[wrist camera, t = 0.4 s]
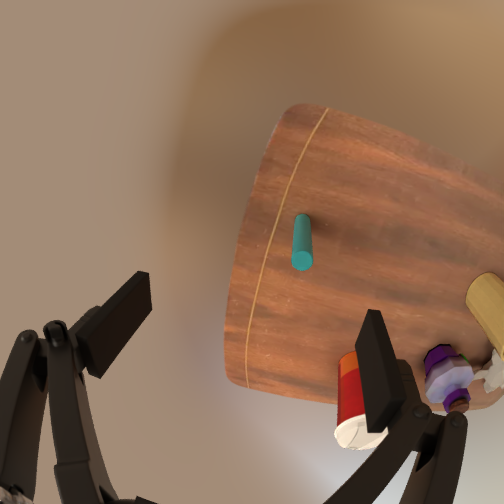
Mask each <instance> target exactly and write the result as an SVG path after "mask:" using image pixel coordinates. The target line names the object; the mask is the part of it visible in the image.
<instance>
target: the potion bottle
mask: <svg viewBox="0 0 504 504" xmlns="http://www.w3.org/2000/svg"><path fill="white" fill-rule="evenodd" d="M459 356H460V357H459ZM424 363H425V373H426V378H425V394H426V396H427V397H428V399H429V401H430V403H441V402H442V403H443V405H444V408H445V411H446V412H447V413H449V412H451V411H459V412H461V413H465V412H466V411H467V410H468V408H469V401H470V399H471V398H470V395H469V393H468V390H467V387H468V386H469V384H470V383H471V381H472V380H473V378H474V374H473V370H472V367H471V366H470V364H469V362H468V360H467V359H466V357H465V356H464V355H463V354H462V353H460V354H459V355H458V354H457V353H456V352H455V351H454V350H453V349H452V348H451V346H450V344H439V345H437V346H436V347H434V348H433V349H431V350H429V351H428V353H427V355H426V357H425V359H424Z"/></svg>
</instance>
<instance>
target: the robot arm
mask: <svg viewBox="0 0 504 504" xmlns="http://www.w3.org/2000/svg"><path fill="white" fill-rule="evenodd" d="M151 311H152V303H151V292H150V280H149V273H147V272H142V271H137V273H135V274H134V275H133V276H132V277H131V278H130V279H129V280H128V281H127V282H126V283H125V284H124V285H123V286H122V287H121V288H120V289H119V290H118V291H117V292H116V293H115V294H114V295H113V296H111V297H110V298H109V299H108V300H107V301H106V303H104V305H102V306H101V307H100V306H95V307H93V308H91V309H90V310H88V311H87V312H86V313H85V314H84V316H82V317H81V318H80V320H78V321H77V322H76V323H75V324H74V325H73V326H72V327H71V328H70V329H69V330H67V327H66V324H65V323H64V322H63V321H60V320H54V321H50V322H49V323H47V324H46V325H45V326H44V328H43V332H44V335H45V338H46V339H41V338H38V335H37V333H36V332H35V331H34V330H25V331H23V332H21V333H20V334H19V335H18V337H17V339H16V341H15V344H14V346H13V348H12V350H11V353H10V355H9V358H8V361H7V363H6V366H5V369H4V371H3V374H2V376H1V379H0V504H34V503H33V498H34V494H35V486H36V472H37V460H38V459H37V458H38V450H39V441H40V434H41V426H42V421H43V415H44V409H45V403H46V399H47V394H48V392H49V406H50V416H51V425H52V433H53V439H54V446H55V451H56V458H57V464H56V465H55V466H54V474H55V478H56V483H57V487H58V491H59V495H60V499H61V503H62V504H157V503H154V502H152V501H149V500H146V499H143V498H141V497H138V496H137V497H136V499H135V500H132V499H120V500H119V498H118V496H117V494H116V492H115V490H114V489H113V487H112V485H111V482H110V480H109V477H108V474H107V471H106V468H105V464H104V461H103V458H102V455H101V452H100V448H99V444H98V440H97V437H96V433H95V429H94V425H93V420H92V416H91V412H90V408H89V402H88V397H87V391H86V386H85V380H84V375H83V373H82V371H83V369H84V368H85V367H86V368H87V371H88V373H89V374H90V375H92V376H94V377H97V378H99V379H101V377H102V376H103V375H104V373H105V372H106V370H107V369H108V368H109V366H110V365H111V364H112V362H113V361H114V360H115V358H116V357H117V355H118V354H119V353H120V351H121V350H122V349H123V347H124V346H125V345H126V343H127V342H128V341H129V339H130V338H131V337H132V335H133V334H134V333H135V331H136V330H137V329H138V328H139V326H140V325H141V324H142V322H143V321H144V320H145V318H146V317H147V316H148V315H149V313H150V312H151ZM355 349H356V354H357V360H358V366H359V373H360V379H361V386H362V393H363V401H364V408H365V416H366V425H367V433H382V432H383V431H384V430H385V428H386V427H387V429H388V434H387V435H386V437H385V438H384V439H383V440H382V441H381V443H380V444H379V445H378V446H377V448H376V449H375V450H374V452H372V454H371V455H370V456H369V457H368V458H367V459H366V461H365V462H364V463H363V464H362V465H361V466H360V467H359V468H358V469H357V470H356V472H355V473H354V474H353V475H352V476H351V477H350V478H349V479H348V480H347V481H346V482H345V483H344V484H343V485H342V486H341V487H340V488H339V489H338V490H337V491H336V492H335V493H334V494H333V495H332V496H331V497H330V498H329V499H327V500H326V502H324V503H323V504H372V503H373V502H374V501H375V499H376V498H377V497H378V496H379V495H380V493H381V492H382V491H383V490H384V488H385V487H386V486H387V485H388V483H389V482H390V480H391V479H392V478H393V477H394V475H395V474H396V473H397V471H398V470H399V469H400V467H401V466H402V464H403V463H404V461H405V460H406V459H407V457H408V456H409V454H410V452H411V451H416V452H418V454H417V457H416V460H415V463H414V466H413V469H412V472H411V475H410V477H409V480H408V483H407V485H406V488H405V490H404V493H403V495H402V498H401V500H400V503H399V504H453V500H454V496H455V493H456V488H457V485H458V480H459V476H460V471H461V466H462V461H463V454H464V449H465V443H466V436H467V427H468V421H467V418H466V416H464V415H463V413H461V412H459V411H451V412H449V413H448V414H447V415H446V416H441V415H437V414H434V413H432V411H431V409H430V407H429V406H428V405H426V404H425V403H423V402H422V401H421V398H420V394H419V391H418V388H417V385H416V382H415V378H414V376H413V372H412V369H411V366H410V365H409V364H408V363H407V362H406V360H400V359H396V357H395V354H394V350H393V347H392V344H391V341H390V338H389V335H388V332H387V329H386V326H385V323H384V320H383V317H382V315H381V312H380V311H379V310H371V309H368V311H367V314H366V317H365V320H364V322H363V325H362V328H361V330H360V333H359V336H358V338H357V341H356V344H355Z"/></svg>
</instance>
